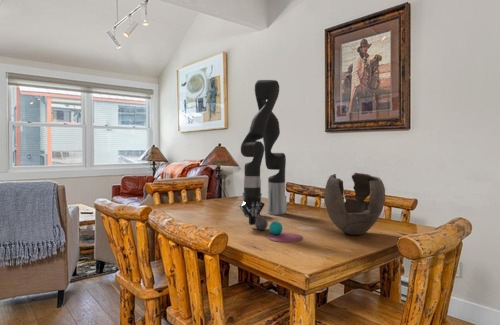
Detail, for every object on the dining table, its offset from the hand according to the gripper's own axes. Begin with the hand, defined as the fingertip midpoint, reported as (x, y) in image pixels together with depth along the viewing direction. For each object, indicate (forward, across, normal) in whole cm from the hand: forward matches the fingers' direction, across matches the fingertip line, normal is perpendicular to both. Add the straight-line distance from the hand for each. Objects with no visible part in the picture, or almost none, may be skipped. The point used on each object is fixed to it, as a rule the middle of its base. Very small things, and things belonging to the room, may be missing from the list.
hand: (252, 224), depth 151 cm
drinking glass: (+2, +18, +23) cm, 29 cm away
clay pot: (+2, +26, -35) cm, 44 cm away
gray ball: (-1, +1, -6) cm, 6 cm away
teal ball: (-1, 0, -16) cm, 16 cm away
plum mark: (+2, 0, -21) cm, 21 cm away
